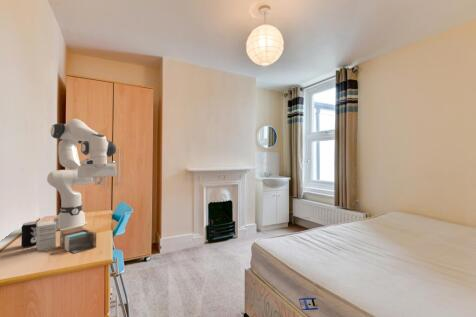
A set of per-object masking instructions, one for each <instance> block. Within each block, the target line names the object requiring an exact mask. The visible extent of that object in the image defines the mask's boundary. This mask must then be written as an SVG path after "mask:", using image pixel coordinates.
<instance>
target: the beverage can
mask: <svg viewBox="0 0 476 317" xmlns="http://www.w3.org/2000/svg"><path fill="white" fill-rule="evenodd" d="M37 223H38V221H29V222H24V223H22V226H21V239H20V240H21V245H20V246H21V247H22V248H24V249H26V248H31V247H36V224H37Z"/></svg>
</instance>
